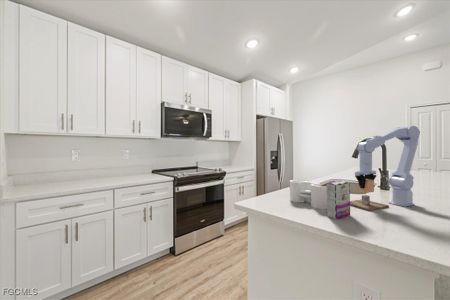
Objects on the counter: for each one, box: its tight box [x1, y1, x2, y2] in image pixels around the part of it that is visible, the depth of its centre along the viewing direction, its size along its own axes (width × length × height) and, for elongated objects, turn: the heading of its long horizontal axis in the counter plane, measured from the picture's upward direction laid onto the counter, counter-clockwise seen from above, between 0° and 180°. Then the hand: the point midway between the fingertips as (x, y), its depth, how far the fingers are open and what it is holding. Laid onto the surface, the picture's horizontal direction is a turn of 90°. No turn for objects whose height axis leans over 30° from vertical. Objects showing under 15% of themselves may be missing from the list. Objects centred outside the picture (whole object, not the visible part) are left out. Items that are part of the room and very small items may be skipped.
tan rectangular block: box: [357, 179, 375, 194], centre depth 112 cm, size 5×5×7 cm
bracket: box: [289, 179, 327, 210], centre depth 119 cm, size 25×10×12 cm, turn 34°
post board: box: [350, 194, 390, 212], centre depth 113 cm, size 16×14×6 cm
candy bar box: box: [326, 180, 351, 220], centre depth 97 cm, size 11×5×16 cm, turn 117°
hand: (365, 187), depth 113 cm, fingers closed on tan rectangular block, 5 cm apart
